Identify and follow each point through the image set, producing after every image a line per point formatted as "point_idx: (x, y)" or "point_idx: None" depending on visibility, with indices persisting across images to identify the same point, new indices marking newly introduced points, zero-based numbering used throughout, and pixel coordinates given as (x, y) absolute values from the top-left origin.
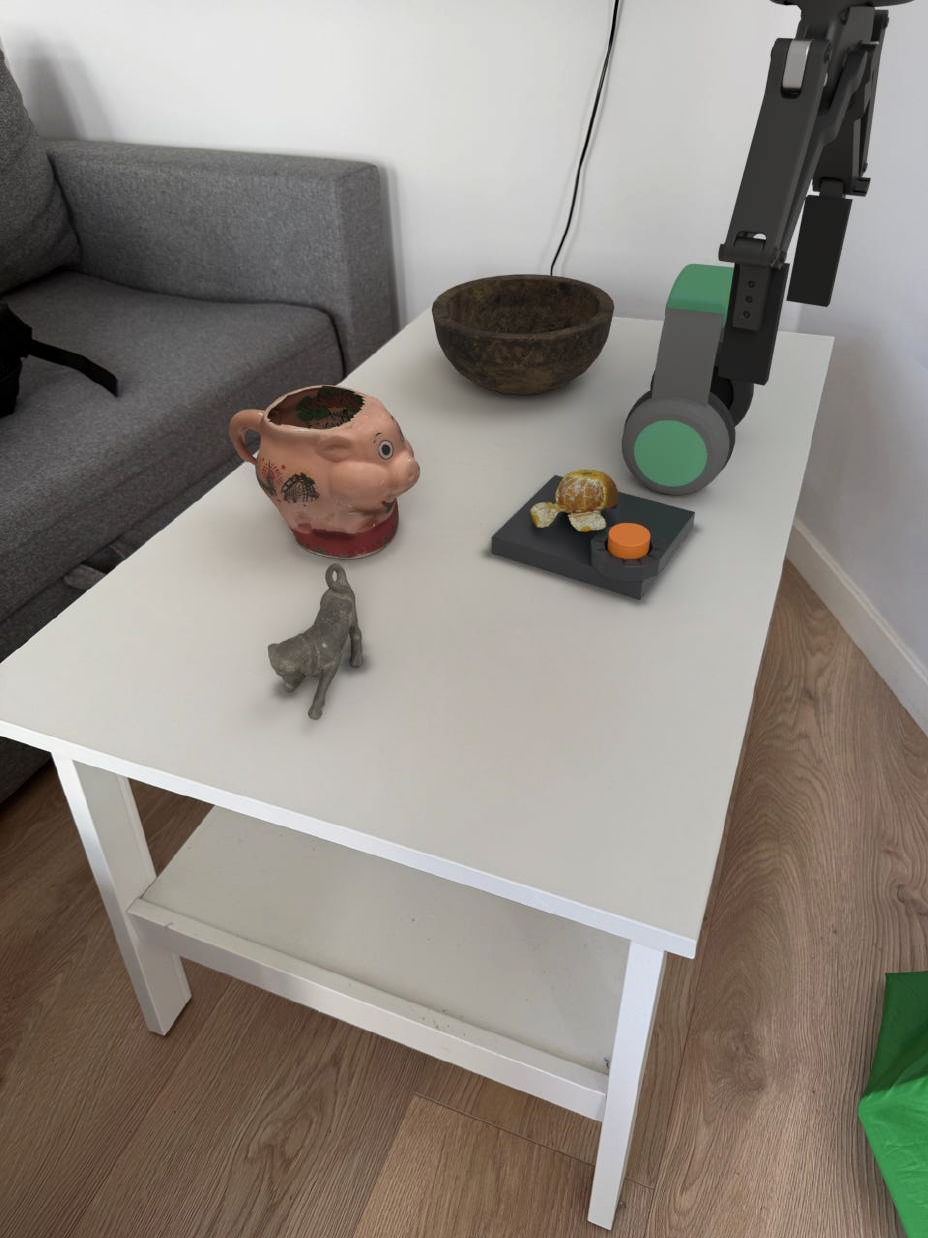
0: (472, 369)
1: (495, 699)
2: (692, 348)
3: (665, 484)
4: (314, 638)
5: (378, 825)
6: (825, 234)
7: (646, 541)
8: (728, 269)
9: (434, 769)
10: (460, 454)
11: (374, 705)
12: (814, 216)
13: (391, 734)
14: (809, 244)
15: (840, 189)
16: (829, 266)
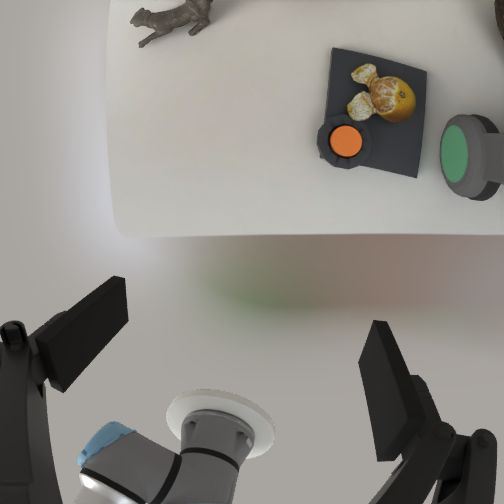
0: (495, 3)
1: (195, 109)
2: None
3: (441, 152)
4: (150, 20)
5: (109, 106)
6: (380, 408)
7: (342, 155)
8: None
9: (141, 108)
10: (432, 9)
11: (168, 58)
12: (392, 411)
13: (153, 77)
14: (384, 382)
15: (405, 458)
16: (368, 389)
